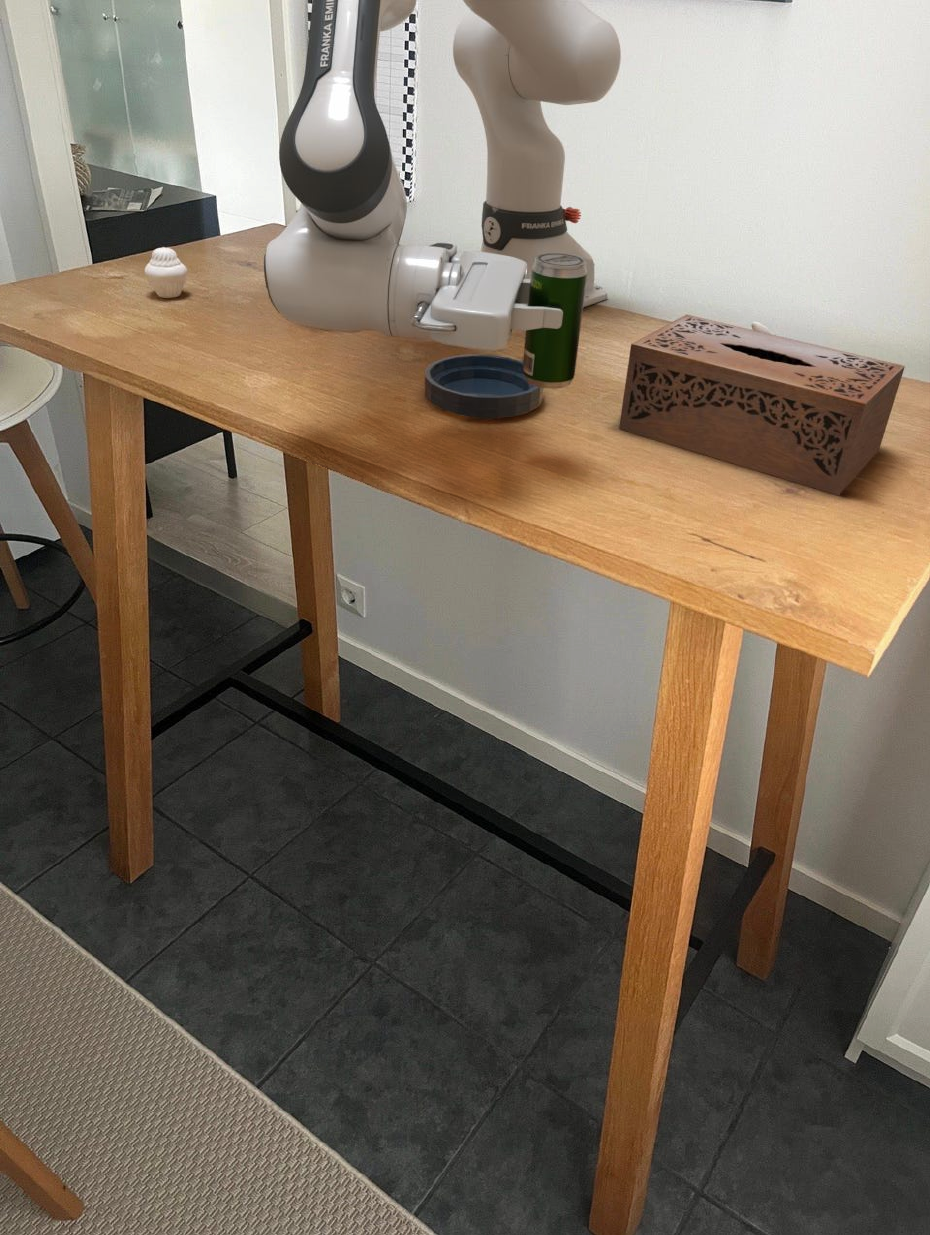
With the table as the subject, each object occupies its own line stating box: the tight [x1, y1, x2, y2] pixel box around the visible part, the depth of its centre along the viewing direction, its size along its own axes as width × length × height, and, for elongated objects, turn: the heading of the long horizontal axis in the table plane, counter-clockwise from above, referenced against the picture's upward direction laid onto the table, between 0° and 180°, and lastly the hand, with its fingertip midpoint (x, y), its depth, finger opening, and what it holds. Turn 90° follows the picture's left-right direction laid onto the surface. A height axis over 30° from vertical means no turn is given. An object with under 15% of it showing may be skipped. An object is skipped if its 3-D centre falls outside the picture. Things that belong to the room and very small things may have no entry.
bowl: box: [424, 354, 544, 420], centre depth 119 cm, size 14×14×3 cm
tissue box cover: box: [618, 314, 906, 496], centre depth 110 cm, size 26×14×10 cm, turn 55°
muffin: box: [144, 246, 188, 299], centre depth 146 cm, size 6×6×7 cm
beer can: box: [522, 253, 587, 390], centre depth 97 cm, size 5×5×12 cm
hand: (564, 307), depth 96 cm, fingers closed on beer can, 5 cm apart
